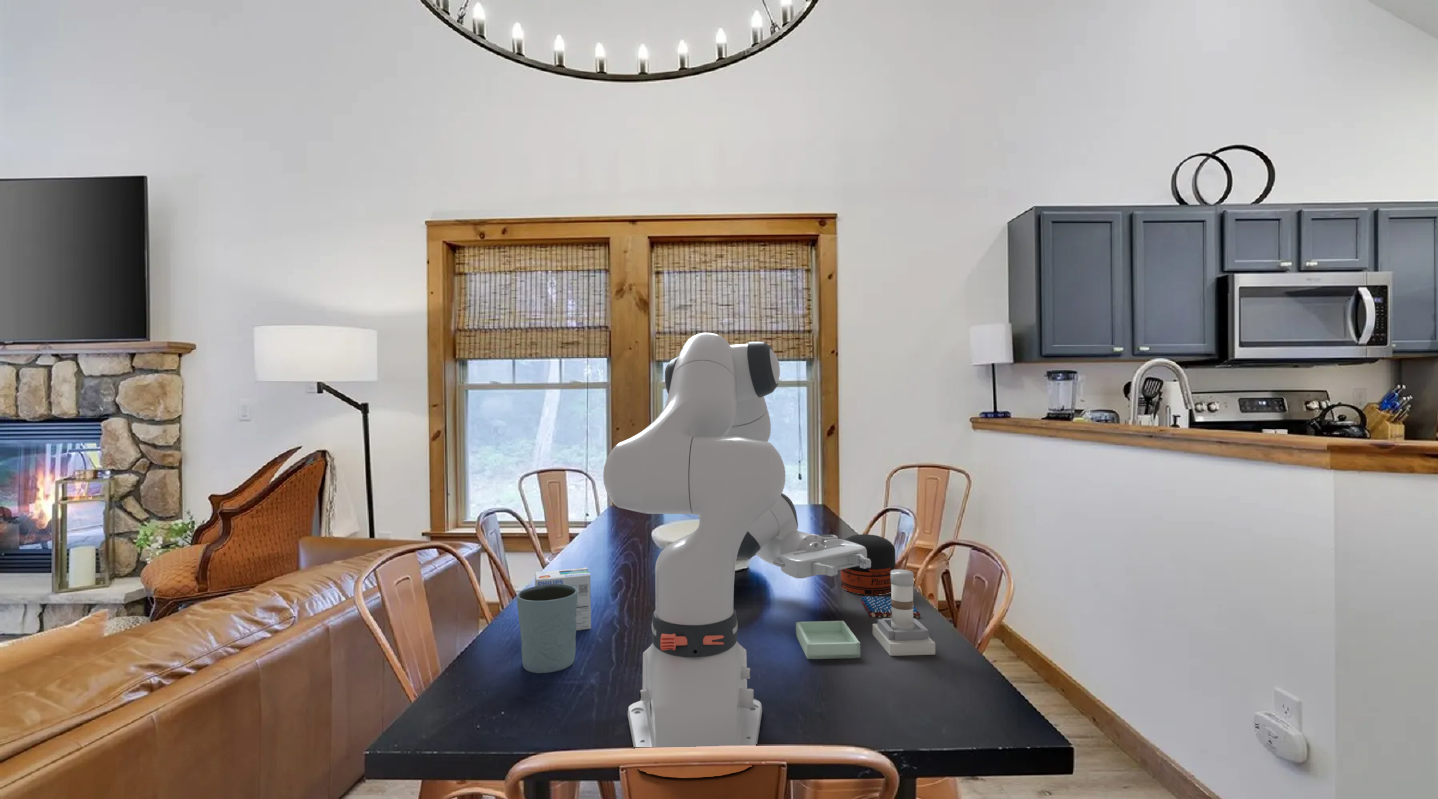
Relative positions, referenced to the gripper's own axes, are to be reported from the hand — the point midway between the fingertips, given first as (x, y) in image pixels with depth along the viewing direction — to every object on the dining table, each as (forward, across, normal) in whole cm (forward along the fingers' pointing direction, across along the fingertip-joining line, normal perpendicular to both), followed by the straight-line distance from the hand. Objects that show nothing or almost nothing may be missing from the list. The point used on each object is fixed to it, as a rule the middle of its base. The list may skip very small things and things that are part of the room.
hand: (852, 568), depth 120 cm
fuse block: (+13, 0, +11) cm, 17 cm away
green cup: (-17, -56, +11) cm, 60 cm away
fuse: (+12, 0, +9) cm, 15 cm away
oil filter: (-15, +21, +12) cm, 29 cm away
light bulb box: (-32, -48, +11) cm, 59 cm away
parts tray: (+5, -12, +11) cm, 17 cm away
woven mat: (-2, +13, +12) cm, 18 cm away
